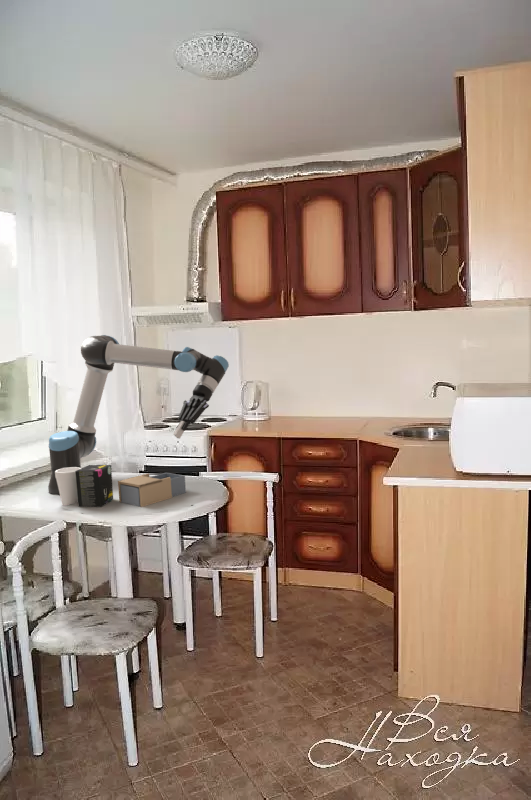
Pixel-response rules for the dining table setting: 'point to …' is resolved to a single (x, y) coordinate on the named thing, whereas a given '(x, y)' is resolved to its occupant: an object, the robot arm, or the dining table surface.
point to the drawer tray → (177, 481)
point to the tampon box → (94, 485)
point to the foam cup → (67, 485)
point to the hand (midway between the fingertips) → (176, 436)
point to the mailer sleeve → (149, 488)
